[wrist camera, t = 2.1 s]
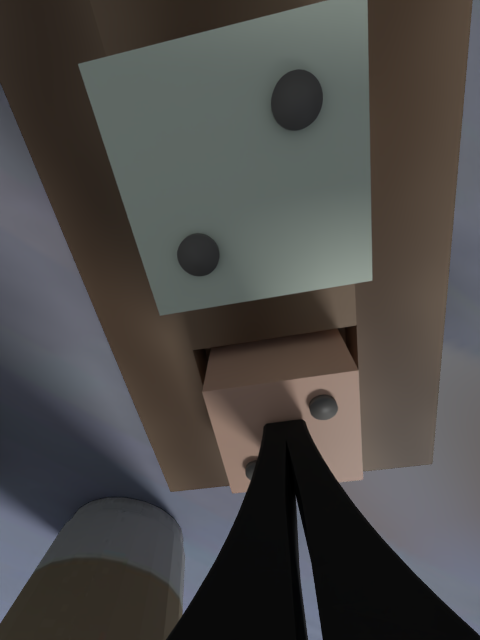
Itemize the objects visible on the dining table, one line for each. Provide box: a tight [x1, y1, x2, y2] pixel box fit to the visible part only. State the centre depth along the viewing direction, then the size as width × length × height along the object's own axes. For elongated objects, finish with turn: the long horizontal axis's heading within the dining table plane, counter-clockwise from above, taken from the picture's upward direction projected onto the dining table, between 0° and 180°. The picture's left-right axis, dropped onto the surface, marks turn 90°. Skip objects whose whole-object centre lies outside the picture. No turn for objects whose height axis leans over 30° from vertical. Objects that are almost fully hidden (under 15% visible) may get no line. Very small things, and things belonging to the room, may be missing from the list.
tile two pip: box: [78, 0, 372, 316], centre depth 8 cm, size 5×5×3 cm
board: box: [0, 0, 472, 492], centre depth 11 cm, size 12×26×2 cm, turn 11°
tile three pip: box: [202, 328, 363, 493], centre depth 13 cm, size 5×5×3 cm
